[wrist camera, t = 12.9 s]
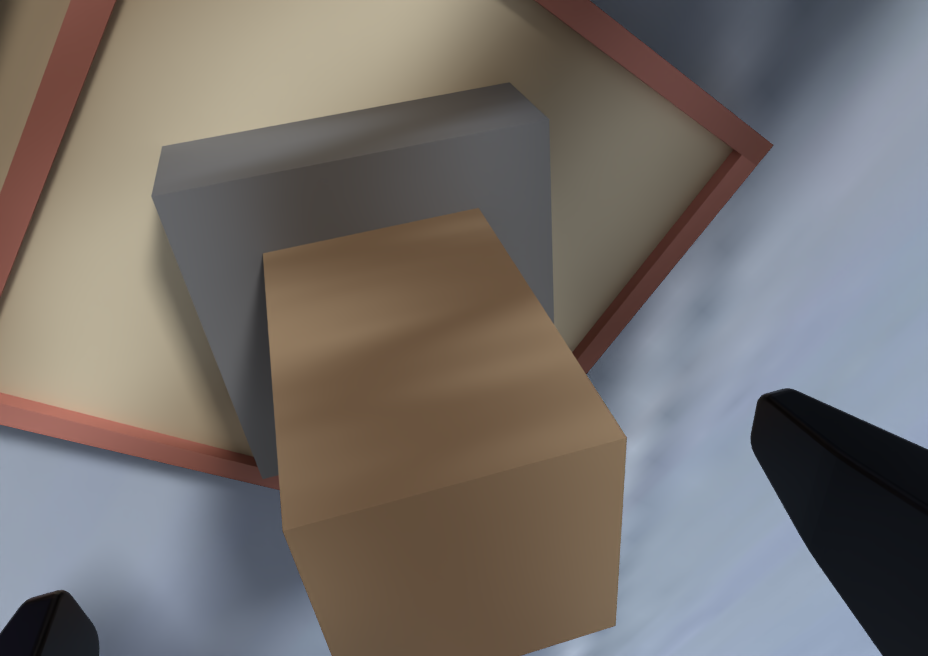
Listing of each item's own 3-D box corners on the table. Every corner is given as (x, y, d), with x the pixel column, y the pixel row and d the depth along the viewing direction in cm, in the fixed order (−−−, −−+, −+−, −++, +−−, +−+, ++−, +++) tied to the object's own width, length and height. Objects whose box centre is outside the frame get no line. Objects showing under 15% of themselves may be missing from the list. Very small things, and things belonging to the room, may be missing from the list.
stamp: (509, 82, 13) (756, 310, 7) (524, 346, 16) (693, 648, 10) (162, 146, 12) (90, 476, 6) (259, 411, 15) (276, 783, 9)
